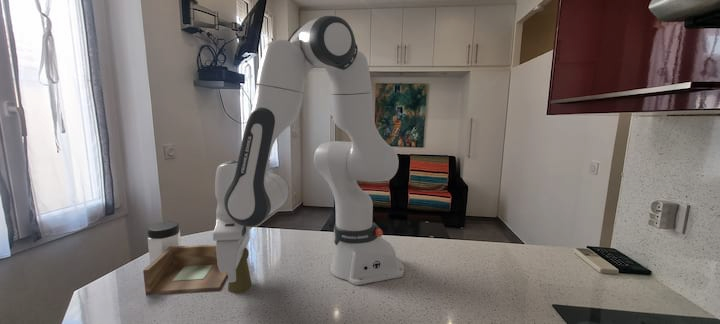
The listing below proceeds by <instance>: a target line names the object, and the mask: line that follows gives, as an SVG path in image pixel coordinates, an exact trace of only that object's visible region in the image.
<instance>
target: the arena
mask: <svg viewBox="0 0 720 324" xmlns="http://www.w3.org/2000/svg"><path fill="white" fill-rule="evenodd" d="M142 273H143V280H144V281H143V282H144V289H145V295H149V296H151V295H163V294H164V295H165V294H179V293H193V292H208V291H211V292H212V291H220V290H221V288H222V287H223V284H224V282H225V280H226V278H228V275H227V273H221V272H220V271H219V269H218V264H217V255H216V244H197V245H196V244H195V245H181V246H172V247H168V248H167V249H166V250H165V251H164V252H163V253H162V254H161V255H160V256H158V257H157V258H156V259H155V260H154V261H153V262H152V263H151V264H150V263H149V264H148V265H147V266H146V267H145V268H144V269H143V271H142Z"/></svg>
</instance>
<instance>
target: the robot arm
mask: <svg viewBox="0 0 720 324" xmlns="http://www.w3.org/2000/svg"><path fill="white" fill-rule="evenodd" d="M355 38H356V37H355V34H354V31H353V29H352V28H351V26H350V25H349V23H348V22H347V21H346V20H345V19H343V18H342V17H341V16H335V15H324V16H321V17H318V18H316V19H312V20H309V21H307V22H306V23H305V24H304V25H302V26H300V27H298V28H297V29H295V30H294V32H293V33H292V34H291V35H290V37H289V39H275V40H272V41H270V42H268V43H267V44H266V46H265V47H264V50H263V52H262V55H261V59H260V62H259V66H258V70H257V75H256V83H255V90H254V91H255V92H254V97H253V102H252V106H251V110H250V113H249V115H248V118H247V121H246V124H245V128H244V131H243V136H242V140H241V144H240V145H241V146H240V150H239V155H238V158H237V159H235V160H229V161H225V162H222V163H220V164H219V165H218V166H217V168H216V171H215V178H214V179H215V180H214V181H215V182H214V184H215V185H214V194H215V198H216V202H217V206H216V210H215V215H216V216H215V218H216V220H215V227H214V230H213V232H212V240H213V241H215V245H216V255H217V264H218V269H219V271H220V272H221V273H227V280H228V283H229V282H235V281H236V279H237V273H236V268H237V266H238V264H239V262H240V260H241V257H242V255H243V251H244V249H245V248H247V247H248V244H249V242H250V238H251V237H250V236H251V233H250V232H251V231H250V230H252V229H253V228H254V227H255V226H258V225H259V224H261V223H262V222H263V221H264V220H265V219H267V218H268V217H269V216H270V215H271V214H272V213H274V212H275V211H277V210H278V209H280V208H281V207H282V206H283V205H284V204H285V203H286V202H287V201H288V198H289V197H290V187H289V184H288V182H287V180H286V179H285V178H284V177H283V176H282V175H280V174H278V173H273V172H270V171H268V167H269V163H270V160H271V154H272V149H273V146H274V144H275V142H276V140H277V138H279V136H280V135H281V134H282V133H283V132H284V131H285V130H286V129H287V128H289V127H290V126H291V125H293V124H294V123H295V122H296V121H297V120H298V117H299V115H300V112H301V109H302V105H303V99H304V93H305V84H306V83H305V82H306V80H307V76H308V74H309V71H311V69H325V71H326V72H327V75H328V77H329V81H330V99H331V110H332V112H331V113H332V120H333V123H334V124H335V125H336V127H337V128H338V129H340V130H342V131H343V132H345V133H346V134H347V135H348V137H349V139H350V141H344V140H343V141H341V140H334V141H326V142H322V143H320V144H319V145H318V146H317V147H316V149H315V151H314V153H313V154H314V155H313V164H314V165H313V166H314V167H315V170H316V171H317V172H318V173H319V174H320V175H321V176H322V177H323V178H324V179H325V181H326V183H328V186H329V188H330V190H331V192H332V195H333V199H334V207H335V208H334V209H335V223H334V227H333V242H334V248H333V254H332V261H331V262H330V263H331V264H330V266H329V270H330V272H331V274H333V275H334V276H335V277H337V278H339V279H341V280H345V281H347V282H349V283H350V284H353V285H355V286H356V285H357V286H360V285H364V284H370V283H375V282H381V281H386V280H392V279H398V278H403V276H404V275H405V266H404V264H403V262H402V261H401V259H400V258H399V257H398V256H397V254H396V251H395V249H394V246H393V245H392V244H391V243H390V242H389V241H388V240H386V239H385V238H383V234H384V232H383V229H381V228H380V227H379V226H378V225H377V224H376V223H375V222H373V218H374V217H373V215H374V214H373V211H374V208H373V207H374V203H373V200H372V197H371V196H370V195H369V194H368V193H367V192H365V190H363V189H362V188H361V187H360V185H359V184H358V182H357V181H363V182H372V183H375V182H376V183H377V182H386V181H391V179H393V178H394V177H395V176H396V174H397V172H398V170H399V162H400V161H399V156H398V154H397V152H396V150H395V149H394V148H393V147H392V146H391V145H390V144H389V143H388V142H386V141H385V139H384V138H383V137H382V135H381V133H379V130H378V128H377V125H376V123H375V119H374V111H373V101H372V100H373V99H372V98H373V96H372V95H373V94H372V93H373V92H372V81H371V72H370V68H369V67H370V66H369V64H368V59H367V57H366V55H365V54H364V53H363V52H362V51H359V50H358V45H357V42H356V39H355Z"/></svg>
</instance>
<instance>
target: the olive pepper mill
mask: <svg viewBox="0 0 720 324" xmlns="http://www.w3.org/2000/svg"><path fill="white" fill-rule="evenodd" d="M249 254H250V253H249V250H248V248H247V247H246V248H245V249H244V251H243V255H242V257H241V260H240V262H239V264H238V266H237V268H236V273H237V279H236V281H235V282H229V281H228V284H227V290H228V292H230V293H232V294H238V293H239V294H240V293H244V292H247V291H248V290H249V289H250V288H252V286H253V285H252V279H251V273H250V269H249V263H248V258H249Z"/></svg>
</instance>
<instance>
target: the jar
mask: <svg viewBox="0 0 720 324" xmlns="http://www.w3.org/2000/svg"><path fill="white" fill-rule="evenodd" d="M147 235H148V237H147V245H148V246H147V247H148V255H149V257H148V258H149V265H150V264H151V263H152V262H153V261H154V260H155V259H156V258H157V257H158V256H160V255H161V254H162V253H163V252H164V251H165V250H166V249H167V248H168V247H172V246H182V240H181V230H180V224H179V222H178V221H171V220H170V221H162V222H157V223H154V224H151V225H149V226H148V227H147Z"/></svg>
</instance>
